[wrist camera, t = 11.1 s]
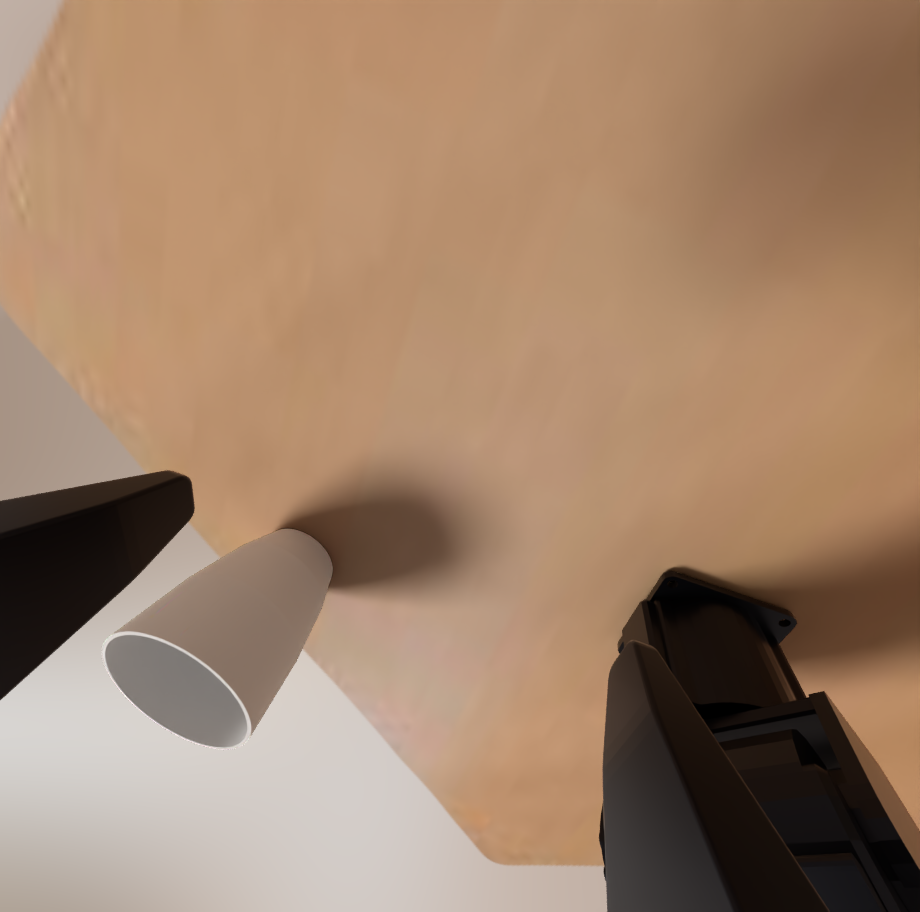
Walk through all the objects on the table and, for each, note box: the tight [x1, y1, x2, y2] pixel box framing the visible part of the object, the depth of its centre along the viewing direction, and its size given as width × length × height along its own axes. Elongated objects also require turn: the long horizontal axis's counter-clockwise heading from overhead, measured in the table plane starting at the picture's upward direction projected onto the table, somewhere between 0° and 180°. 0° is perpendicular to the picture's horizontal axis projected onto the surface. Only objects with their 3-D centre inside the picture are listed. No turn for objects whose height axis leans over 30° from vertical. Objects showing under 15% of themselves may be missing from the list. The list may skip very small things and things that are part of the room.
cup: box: [102, 529, 333, 750], centre depth 24 cm, size 8×8×10 cm
